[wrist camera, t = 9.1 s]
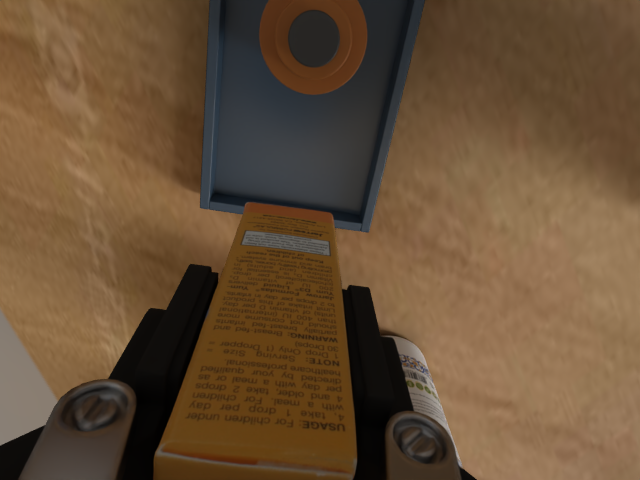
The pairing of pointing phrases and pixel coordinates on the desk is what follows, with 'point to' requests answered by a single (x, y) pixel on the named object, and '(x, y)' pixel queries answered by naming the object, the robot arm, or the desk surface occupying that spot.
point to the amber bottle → (313, 42)
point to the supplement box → (269, 362)
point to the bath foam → (421, 383)
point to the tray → (301, 118)
